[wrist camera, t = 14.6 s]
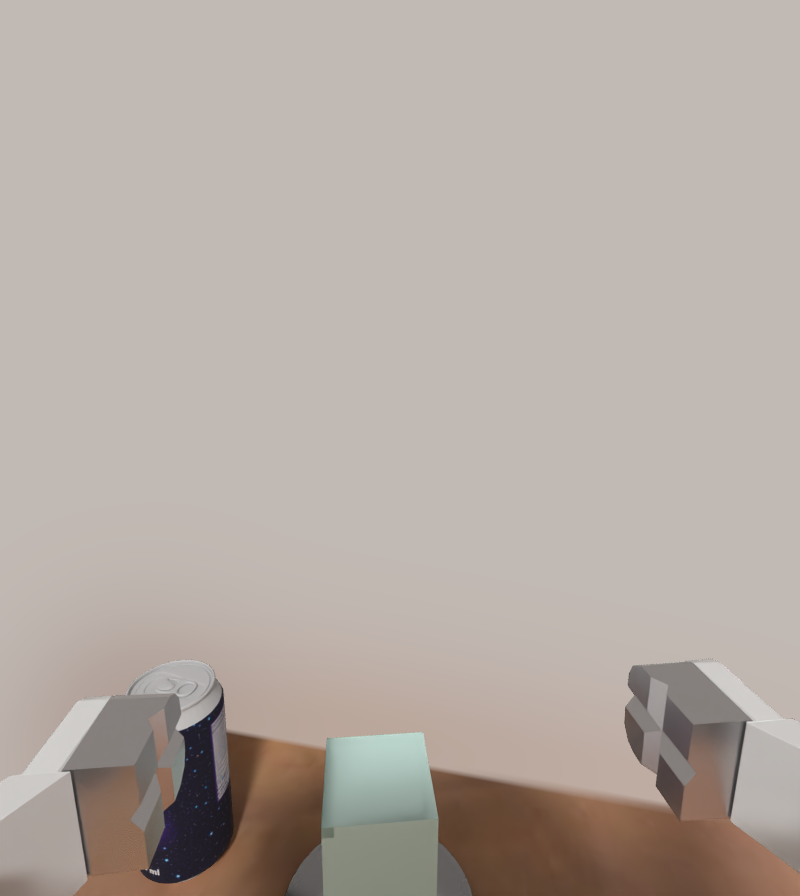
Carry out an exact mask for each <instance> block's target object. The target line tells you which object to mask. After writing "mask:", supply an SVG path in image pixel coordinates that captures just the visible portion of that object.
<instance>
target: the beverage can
mask: <svg viewBox="0 0 800 896" xmlns="http://www.w3.org/2000/svg"><path fill="white" fill-rule="evenodd" d="M168 693H175V694H176V695H177V696H178V697H179V701H180V708H181V716H180V719H179V721H178V723H177V726H176V729H177V731H178V732H179V733H180V734H181V735H182V736H183V737H184V744H185V765H184V770H183V776H182V781H181V785H180V788H179V791H178V794H177V796H176V799H175V801H174V802H173V803H172V804H171V805H170V806H169V807H168V808H167V809H165V810H164V811H163V814H164V823H165V828H164V831H163V833H162V836H161V838H160V841H159V843H158V846H157V849H156V851H155V854H154V856H153V859H152V861H151V864H150V867H149V869H144V870H141V872H142V873H143V875H145V876H146V877H147V878H148V879H150V880H152V881H155V882H158V883H177V882H183V881H187V880H190V879H192V878H194V877H196V876H198V875H199V874H201V873H202V872H203V871H205V870H206V869H207V868H209V867H210V866H211V865H212V864H213V863H215V862H216V861H217V859H218V858H219V857H220V856H221V855H222V854H223V852H224V851H225V849H226V847H227V846H228V844H229V842H230V839H231V836H232V832H233V814H232V801H231V787H230V774H229V761H228V748H227V734H226V722H225V708H224V696H223V688H222V686H221V685H220V683H219V682H218V680H217V679H216V678H215V673H214V670H213V669H212V668H211V667H210V666H209V665H208V664H206V663H204V662H201V661H196V660H178V661H173V662H168V663H165V664H162V665H159V666H156V667H154V668H152V669H150V670H148V671H147V672H145V673H144V674H142V675H141V676H139V677H138V678H137V679H136V680H135V681H133V683H132V684H131V685H130V686H129V688H128V690H127V693H126V695H142V694H168Z"/></svg>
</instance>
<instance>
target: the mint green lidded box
mask: <svg viewBox="0 0 800 896" xmlns="http://www.w3.org/2000/svg"><path fill="white" fill-rule="evenodd" d="M438 821H439V819H438V813H437V807H436V802H435V796H434V791H433V785H432V780H431V774H430V768H429V763H428V757H427V752H426V746H425V741H424V735H423V732H417V733H402V734H386V735H370V736H355V737H340V738H327V745H326V761H325V776H324V792H323V808H322V823H321V838H322V868H323V896H437V862H438Z"/></svg>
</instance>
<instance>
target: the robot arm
mask: <svg viewBox="0 0 800 896" xmlns="http://www.w3.org/2000/svg"><path fill="white" fill-rule="evenodd" d="M628 686H629V688H630V689H631V691H632V692H633V694H634V695H635V696H634V697H633V698H632V699H631V701H630V702H629V703H628V704H627V705H626V707H625V728H626V733H627V738H628V741H629V743H630V746H631V748H632V750H633V752H634V754H635V755H636V757H637V759H638V760H639V762H640V763H641V764H642V765H643V766H645V767H647V768H648V769H650V770H651V771H653V772H654V773H656V774H657V780H656V787H657V788H658V790H659V791H660V793H661V794H662V796H663V797H664V799H665V800H666V802H667V803H668V805H669V806H670V807H671V809H672V810H673V812H674V813H675V815H676V816H677V818H678V819H679V821H694V820H712V819H730V818H731V820H730V821H731V822H732V823H733V824H735V825H736V826H737V827H739V828H740V829H741V830H743V831H744V832H745V833H747V834H748V835H749V836H751V837H752V838H753V839H755V840H756V841H757V842H759V843H760V844H761V845H763V846H764V847H765V848H767V849H768V850H769V851H771V852H772V853H773V854H775V855H776V856H777V857H779V858H780V859H781V860H783V861H784V862H785V863H787V864H788V865H789V866H790V867H792V868H793V869H794V870H796V871H797V872H798V873H800V722H799V721H797V720H795V719H784V718H782V717H781V716H780V715H779V714H778V713H777V712H776V711H775V710H773V709H772V708H771V707H770V706H769V705H768V704H766V703H765V702H764V701H763V700H762V699H761V698H760V697H759V696H757V695H756V694H755V693H754V692H753V691H752V690H751V689H750V688H748V687H747V686H746V685H745V684H744V683H743V682H742V681H740V680H739V679H738V678H737V677H736V676H735V675H734V674H732V673H731V672H730V671H729V670H728V669H727V668H725V666H723V665H722V664H721V663H720V662H718V661H715V660H713V659H702V660H692V661H685V662H679V663H665V664H650V665H635V666H633V667H632V669H631V671H630V673H629V679H628ZM180 716H181V708H180V701H179V697H178V696H177V695H176V694H175V693H168V694H142V695H116V696H100V697H85V698H83V699H81V700H79V701H77V703H76V704H75V705H74V706H73V708H72V709H71V710H70V712H69V713H68V714H67V715H66V717H65V718H64V719H63V721H62V722H61V723H60V725H59V726H58V727H57V729H56V730H55V731H54V733H53V734H52V735H51V737H50V738H49V739H48V740H47V742H46V743H45V744H44V746H43V747H42V748H41V750H40V751H39V752H38V754H37V755H36V756H35V757H34V759H33V760H32V761H31V763H30V764H29V766H28V767H27V768H26V769H25V771H24V772H23V773H22V774H21V775H13V776H9V777H8V778H6V779H5V780H3V781H2V782H0V896H73V895H74V894H75V893H76V892H77V891H78V890H79V889H80V888H81V887H82V886H83V885H84V884H85V883H86V881H87V880H88V877H87V876H95V875H103V874H111V873H119V872H128V871H136V870H144V869H149V867H150V864H151V861H152V859H153V856H154V854H155V851H156V849H157V846H158V843H159V841H160V838H161V836H162V833H163V831H164V828H165V823H164V814H163V811H164V810H165V809H167V808H168V807H169V806H170V805H171V804H172V803H173V802H174V801H175V799H176V796H177V794H178V791H179V788H180V785H181V781H182V776H183V770H184V765H185V744H184V737H183V736H182V735H181V734H180V733H179V732H178V731H177V729H176V726H177V723H178V721H179V719H180Z"/></svg>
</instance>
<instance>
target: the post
mask: <svg viewBox="0 0 800 896" xmlns="http://www.w3.org/2000/svg"><path fill="white" fill-rule="evenodd" d="M285 896H323V868H322V842H321V843H320V844H319V845H318V846H317V847H316V848H315V849H314V850H313V851H312V852H311V853H310V854H309V855H308V856H307V857H306V858H305V860H304V861H303V862H302V864H301V865H300V866H299V868H298V869H297V871H296V873H295V874H294V876H293V878H292V880H291V882H290V884H289V887H288V889H287V891H286V894H285ZM437 896H472V892H471V889H470V886H469V884H468V881H467V879H466V876H465V874H464V873H463V871H462V869H461V867H460V865H459V864H458V862H457V861H456V860H455V858H454V857H453V855H452V854H451V853H450V852H449V851H448V850H447V849H446V848H445V847H444V846H443V845H442V844H441V843H440V842H438V862H437Z"/></svg>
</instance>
